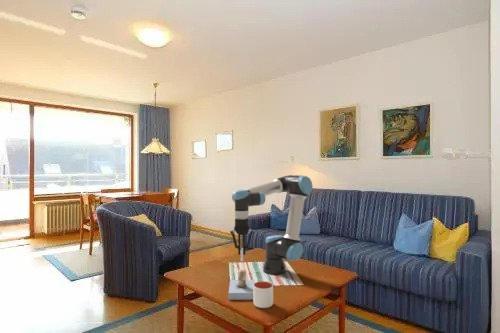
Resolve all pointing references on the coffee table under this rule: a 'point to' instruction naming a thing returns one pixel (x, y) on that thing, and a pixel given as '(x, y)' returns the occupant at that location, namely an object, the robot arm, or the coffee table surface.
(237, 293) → the board
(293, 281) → the coffee table surface
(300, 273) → the coffee table surface
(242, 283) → the peg
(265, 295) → the cup
